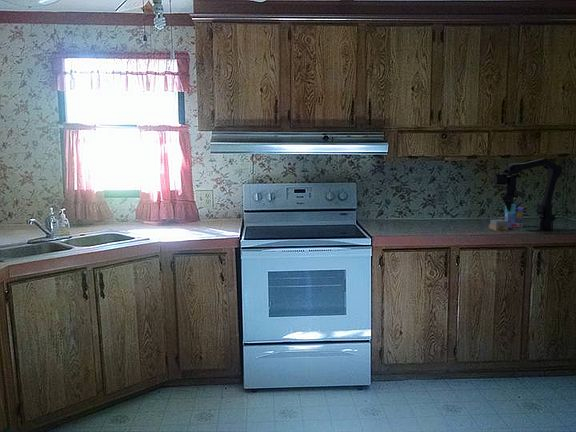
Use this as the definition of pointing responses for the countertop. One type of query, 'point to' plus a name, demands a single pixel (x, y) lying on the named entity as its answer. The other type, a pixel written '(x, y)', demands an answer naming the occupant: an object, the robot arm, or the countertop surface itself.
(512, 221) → the ink cartridge box
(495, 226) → the tower base
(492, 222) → the tower top
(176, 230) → the countertop surface
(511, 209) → the teal cube
